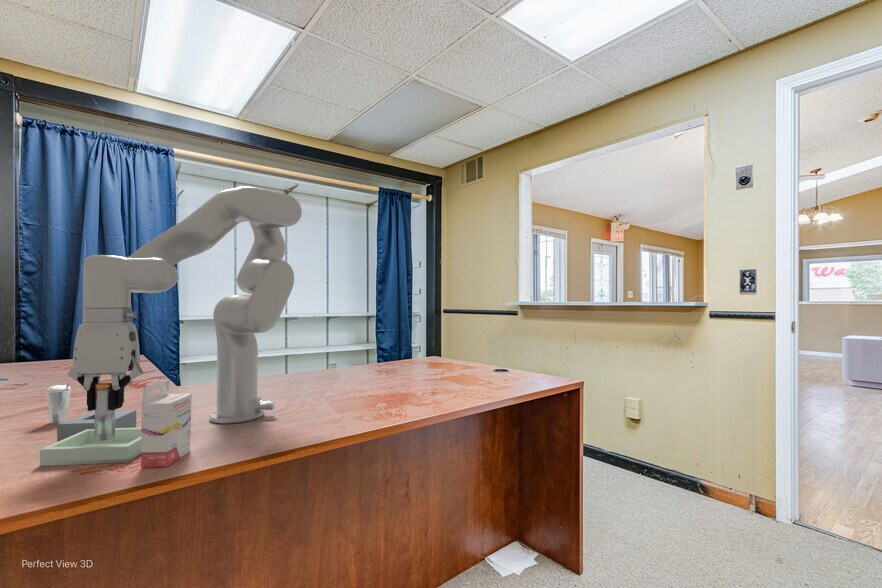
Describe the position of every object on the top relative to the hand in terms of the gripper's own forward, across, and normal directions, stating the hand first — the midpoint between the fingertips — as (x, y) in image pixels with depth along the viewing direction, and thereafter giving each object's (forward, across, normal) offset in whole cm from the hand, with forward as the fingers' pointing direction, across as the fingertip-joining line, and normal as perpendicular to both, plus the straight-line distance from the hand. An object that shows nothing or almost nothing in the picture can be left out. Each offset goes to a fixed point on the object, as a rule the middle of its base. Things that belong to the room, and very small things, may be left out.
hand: (105, 408), depth 84 cm
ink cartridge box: (+9, -14, +5) cm, 18 cm away
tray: (+9, 0, 0) cm, 9 cm away
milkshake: (+9, +25, -23) cm, 35 cm away
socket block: (+9, +9, -12) cm, 17 cm away
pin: (+6, 0, 0) cm, 6 cm away
